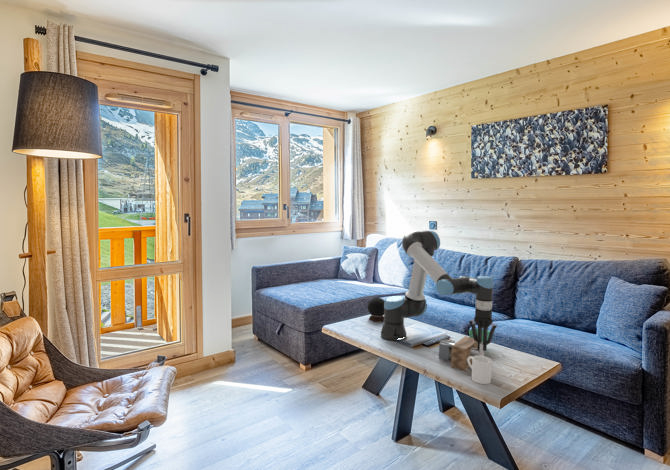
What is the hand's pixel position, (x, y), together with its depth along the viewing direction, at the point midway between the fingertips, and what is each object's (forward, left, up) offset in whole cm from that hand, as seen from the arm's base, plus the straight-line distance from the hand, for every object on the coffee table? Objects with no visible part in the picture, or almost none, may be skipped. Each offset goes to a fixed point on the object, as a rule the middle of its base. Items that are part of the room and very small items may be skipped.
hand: (481, 356), depth 189 cm
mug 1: (-8, +24, -6) cm, 26 cm away
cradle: (-17, 0, -5) cm, 18 cm away
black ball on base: (-81, +34, -6) cm, 88 cm away
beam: (-8, 0, -5) cm, 10 cm away
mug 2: (+3, -14, -6) cm, 15 cm away
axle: (-11, 0, 0) cm, 11 cm away
